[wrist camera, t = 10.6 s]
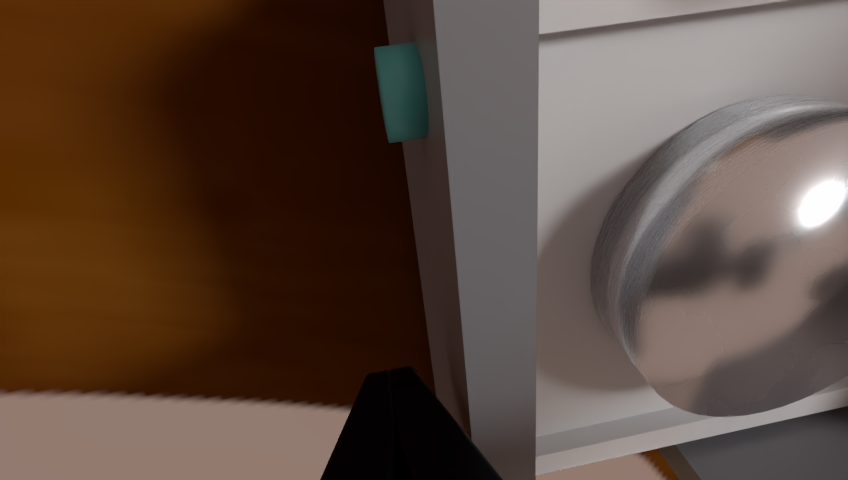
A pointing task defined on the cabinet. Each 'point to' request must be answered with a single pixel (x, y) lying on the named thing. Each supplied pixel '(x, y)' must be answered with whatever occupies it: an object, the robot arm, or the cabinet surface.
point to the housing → (769, 451)
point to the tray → (566, 194)
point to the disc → (734, 258)
